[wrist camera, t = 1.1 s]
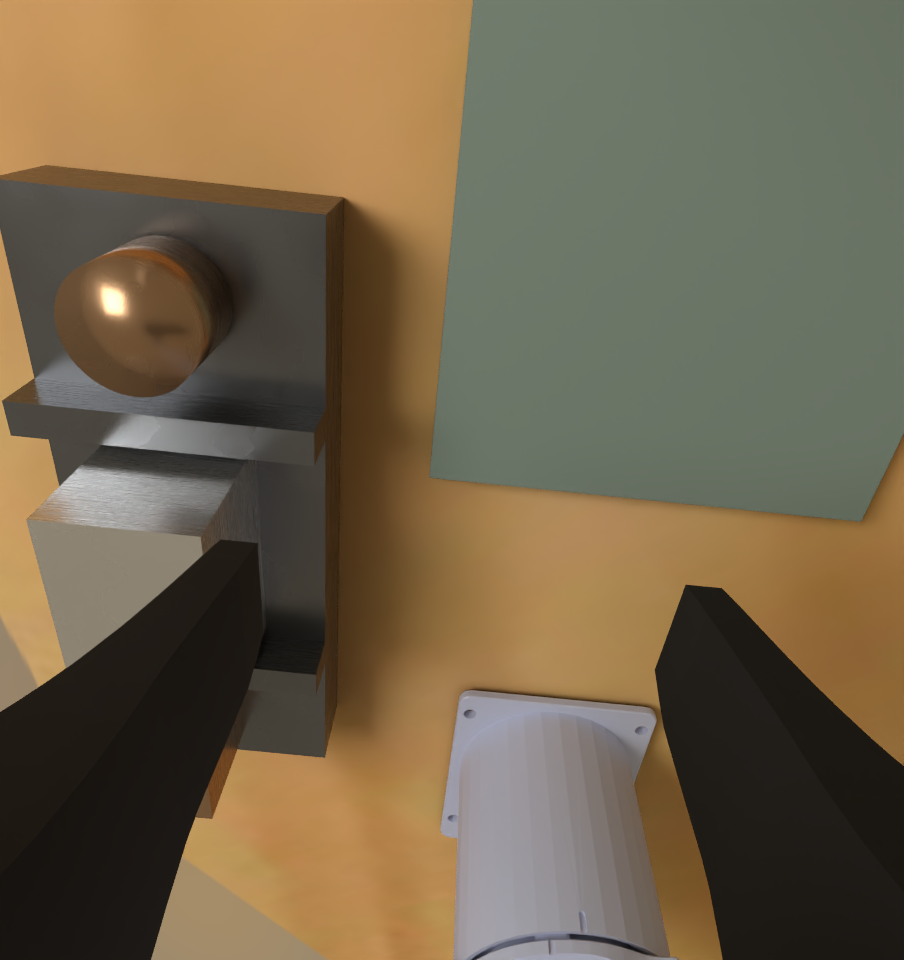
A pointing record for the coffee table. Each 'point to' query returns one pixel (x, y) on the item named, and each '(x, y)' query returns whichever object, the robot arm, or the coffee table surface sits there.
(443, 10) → the coffee table surface
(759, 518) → the coffee table surface
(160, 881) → the robot arm
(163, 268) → the hand plane
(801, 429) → the rubber mat
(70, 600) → the rectangular metal block
